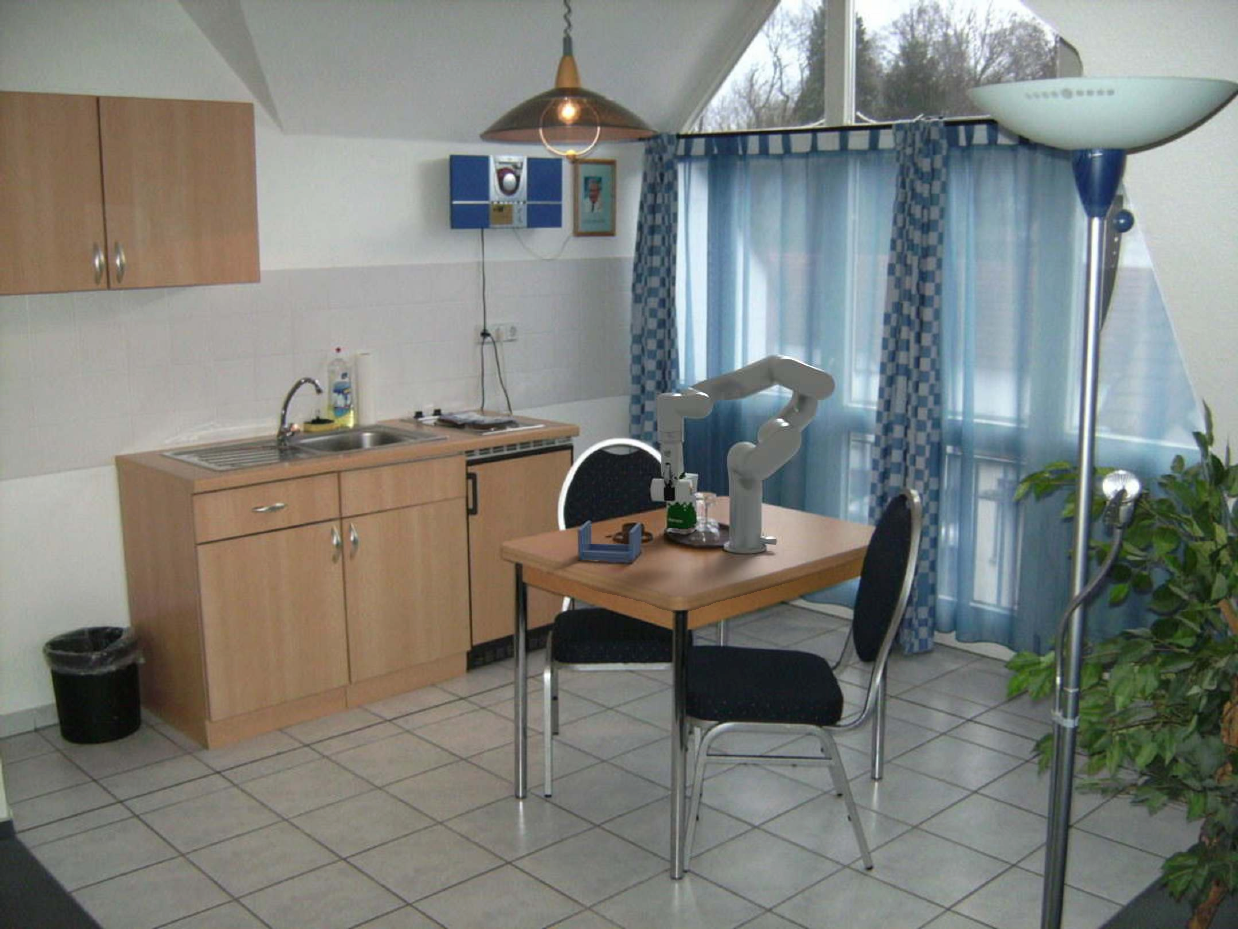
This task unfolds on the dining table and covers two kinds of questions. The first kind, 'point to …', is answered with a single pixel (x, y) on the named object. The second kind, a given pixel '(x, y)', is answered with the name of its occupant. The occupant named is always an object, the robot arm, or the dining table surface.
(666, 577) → the dining table surface
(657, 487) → the roll
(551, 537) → the dining table surface
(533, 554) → the dining table surface
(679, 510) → the milk carton
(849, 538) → the dining table surface
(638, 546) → the holder
